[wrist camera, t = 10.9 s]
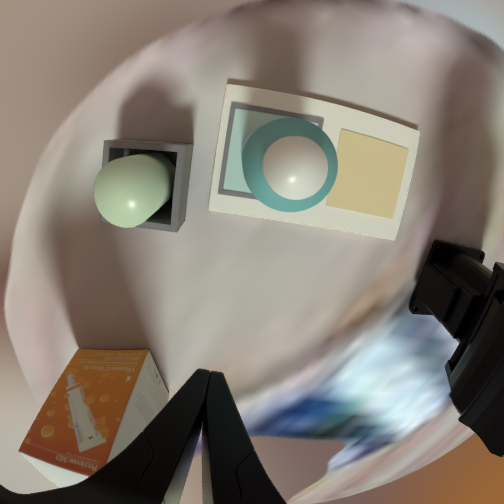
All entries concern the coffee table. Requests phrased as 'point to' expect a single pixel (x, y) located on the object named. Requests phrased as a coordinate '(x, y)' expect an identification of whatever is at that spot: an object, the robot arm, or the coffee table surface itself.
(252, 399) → the coffee table surface
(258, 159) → the teal marker
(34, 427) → the small box
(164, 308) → the coffee table surface
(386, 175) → the colouring sheet
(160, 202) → the button
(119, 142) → the frame
